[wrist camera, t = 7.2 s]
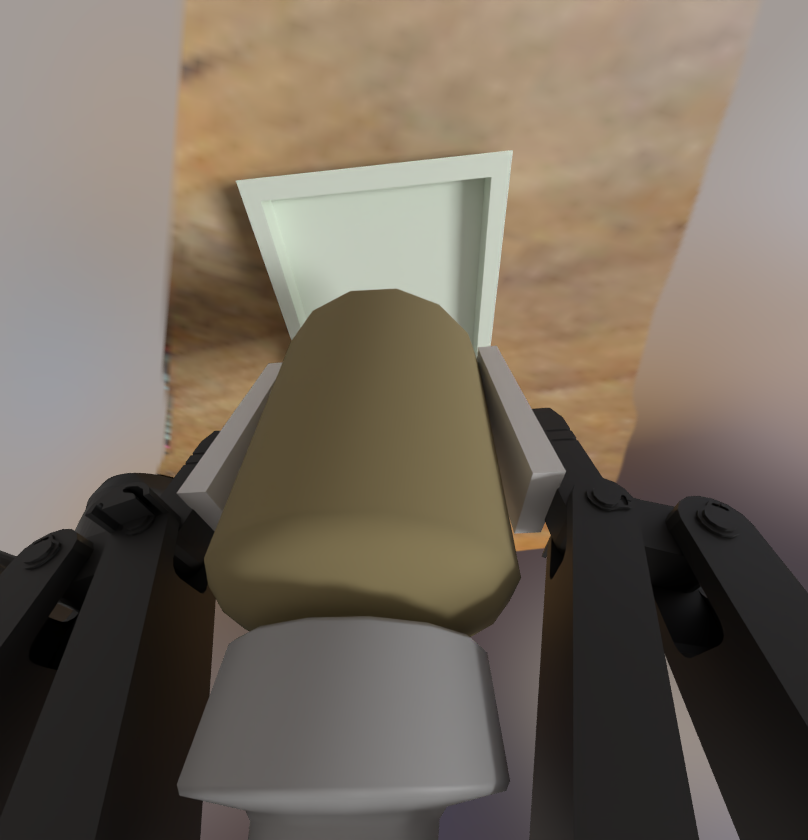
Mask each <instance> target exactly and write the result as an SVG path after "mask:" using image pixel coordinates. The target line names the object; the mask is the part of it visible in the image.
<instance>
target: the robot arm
mask: <svg viewBox="0 0 808 840" xmlns="http://www.w3.org/2000/svg"><path fill="white" fill-rule="evenodd" d="M477 361H478V364H479V368H480V372H481V377H482V382H483V387H484V392H485V397H486V402H487V407H488V413H489V418H490V423H491V428H492V433H493V438H494V443H495V448H496V453H497V458H498V463H499V469H500V474H501V479H502V484H503V489H504V494H505V499H506V504H507V509H508V514H509V517H510V521H511V524H512V527H513V530H514V533H533V532H541V530H542V528H543V526H544V523H545V522H546V525H547V527H548V529H549V532H550V534H551V536H550V538H549V540H548V542H547V545H546V547H545V549H544V551H543V554H542V557H544V558H546V557H547V564H546V580H545V596H544V613H543V628H542V644H541V661H540V677H539V694H538V708H537V725H536V741H535V757H534V773H533V789H532V805H531V821H530V839H529V840H699V837H698V831H697V826H696V820H695V815H694V810H693V805H692V799H691V793H690V788H689V783H688V778H687V772H686V767H685V762H684V756H683V751H682V745H681V740H680V735H679V729H678V724H677V718H676V713H675V708H674V702H673V697H672V692H671V686H670V681H669V676H668V670H667V665H666V659H665V656H666V658H667V660H668V663H669V665H670V668H671V670H672V673H673V675H674V678H675V680H676V683H677V685H678V688H679V690H680V693H681V695H682V698H683V700H684V703H685V705H686V708H687V710H688V712H689V715H690V717H691V720H692V722H693V725H694V727H695V730H696V732H697V735H698V737H699V740H700V742H701V745H702V747H703V750H704V752H705V754H706V757H707V759H708V762H709V764H710V767H711V769H712V772H713V774H714V776H715V779H716V782H717V784H718V786H719V789H720V792H721V794H722V796H723V799H724V801H725V804H726V806H727V809H728V811H729V814H730V816H731V819H732V821H733V824H734V826H735V828H736V831H737V833H738V836H739V838H740V840H808V593H807V591H806V590H805V589H804V588H803V586H802V585H801V584H800V583H799V581H798V580H797V579H796V578H795V576H794V575H793V574H792V573H791V571H790V570H789V569H788V568H787V566H786V565H785V564H784V563H783V561H782V560H781V559H780V558H779V557H778V555H777V554H776V553H775V552H774V550H773V549H772V548H771V546H770V545H769V544H768V543H767V541H766V540H765V539H764V538H763V536H762V535H761V534H760V533H759V531H758V530H757V529H756V528H755V526H754V525H753V524H752V523H751V522H750V521H749V520H748V519H747V518H746V517H745V516H743V514H741V513H739V512H738V511H736V510H735V509H733V508H732V507H730V506H729V505H727V504H724V503H722V502H719V501H717V500H714V499H711V498H706V497H701V496H691V497H686V498H684V499H683V500H681V501H679V503H678V504H677V505H676V506H675V507H673V506H668V505H663V504H658V503H653V502H648V501H643V500H640V499H636V498H633V497H632V496H631V495H630V494H629V493H628V492H627V491H626V490H625V489H624V488H622V487H621V486H619V485H618V484H616V483H615V482H612V481H610V480H607V479H604V478H603V477H602V476H601V475H600V473H599V472H598V470H597V469H596V467H595V466H594V464H593V462H592V461H591V459H590V458H589V456H588V455H587V453H586V452H585V450H584V449H583V447H582V446H581V444H580V443H579V441H578V440H576V437H575V435H574V434H573V432H572V431H570V428H569V426H568V425H567V423H566V422H565V420H564V419H563V417H562V416H560V415H559V414H558V413H556V412H555V411H553V410H552V409H551V408H539V409H531V407H530V405H529V403H528V402H527V400H526V398H525V396H524V394H523V393H522V391H521V389H520V387H519V385H518V383H517V382H516V380H515V378H514V376H513V374H512V373H511V371H510V369H509V367H508V365H507V364H506V362H505V360H504V358H503V356H502V355H501V353H500V351H499V349H498V347H497V346H487V347H478V351H477ZM282 363H283V362H281V363H269V364H268V365H267V366H266V368H265V369H264V371H263V372H262V373H261V375H260V376H259V378H258V379H257V380H256V382H255V383H254V385H253V386H252V388H251V389H250V390H249V392H248V393H247V395H246V396H245V397H244V399H243V400H242V402H241V403H240V404H239V406H238V407H237V409H236V410H235V411H234V413H233V414H232V416H231V417H230V419H229V420H228V421H227V423H226V424H225V426H224V427H223V428H222V430H221V431H214V432H213V433H212V434H210V435H209V436H208V437H207V438H205V439H204V440H203V441H202V442H201V443H200V444H199V445H198V447H197V448H196V449H195V451H194V452H193V455H191V456H190V457H189V459H188V460H187V461H186V465H183V467H182V468H181V469H180V471H179V472H178V473H177V475H176V476H175V477H174V479H173V478H169V477H165V476H160V475H154V474H146V473H127V474H120V475H116V476H113V477H111V478H109V479H107V480H106V481H105V482H104V483H103V484H102V485H101V486H100V487H99V488H98V489H97V490H96V491H95V493H93V494H92V496H91V497H90V498H89V500H88V502H87V506H86V510H85V512H84V514H83V516H82V517H81V519H80V521H79V523H78V525H77V527H76V530H75V531H74V530H72V529H62V530H59V531H56V532H53V533H50V534H48V535H46V536H44V537H42V538H40V539H38V540H36V541H35V542H33V543H32V544H31V545H29V546H28V547H27V548H25V549H24V550H23V551H22V552H21V553H20V554H19V555H18V556H14V555H11V554H8V553H6V552H3V551H0V840H200V834H201V818H202V803H203V801H202V800H197V799H193V798H188V797H184V796H180V795H179V792H178V787H177V783H178V780H179V777H180V775H181V772H182V769H183V767H184V764H185V761H186V758H187V756H188V753H189V750H190V748H191V745H192V742H193V740H194V737H195V734H196V731H197V729H198V726H199V723H200V721H201V718H202V715H203V712H204V710H205V707H206V704H207V702H208V699H209V694H210V678H211V662H212V647H213V632H214V616H215V600H216V598H215V597H214V595H213V593H212V591H211V589H210V588H209V586H208V581H207V575H206V569H205V563H204V557H205V554H206V552H207V549H208V547H209V544H210V542H211V539H212V537H213V534H214V532H215V529H216V527H217V524H218V522H219V519H220V517H221V514H222V512H223V510H224V507H225V505H226V502H227V500H228V497H229V495H230V492H231V490H232V487H233V485H234V482H235V480H236V477H237V475H238V472H239V470H240V467H241V465H242V462H243V460H244V457H245V455H246V452H247V450H248V447H249V445H250V442H251V440H252V437H253V435H254V432H255V430H256V427H257V425H258V422H259V420H260V417H261V415H262V412H263V410H264V407H265V405H266V402H267V400H268V397H269V395H270V392H271V390H272V387H273V385H274V382H275V380H276V378H277V375H278V373H279V370H280V368H281V365H282ZM664 653H665V654H664Z"/></svg>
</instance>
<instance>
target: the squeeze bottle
mask: <svg viewBox="0 0 808 840" xmlns="http://www.w3.org/2000/svg"><path fill="white" fill-rule="evenodd" d="M204 563H205V569H206V575H207V581H208V586H209V588H210V589H211V591H212V593H213V595H214V597H215V598H216V600H217V602H218V604H219V605H220V607H221V609H222V611H223V612H224V613H225V614H227V615H228V616H229V617H231V618H232V619H233V620H234V621H236V622H237V623H238V624H239V625H241V626H242V627H243V628H244V629H246V630H248V631H250V632H248V633H246V634H244V635H243V636H241V637H239V638H237V639H236V640H234V641H233V642H231V643H230V644H229V645H228V648H227V650H226V653H225V656H224V658H223V661H222V664H221V667H220V669H219V672H218V675H217V678H216V680H215V683H214V686H213V688H212V691H211V694H210V696H209V699H208V702H207V704H206V707H205V710H204V712H203V715H202V718H201V721H200V723H199V726H198V729H197V731H196V734H195V737H194V740H193V742H192V745H191V748H190V750H189V753H188V756H187V758H186V761H185V764H184V767H183V769H182V772H181V775H180V777H179V780H178V783H177V787H178V792H179V795H180V796H184V797H188V798H193V799H197V800H202V801H206V802H211V803H215V804H219V805H224V806H228V807H232V808H237V809H242V810H246V813H247V815H248V817H249V820H250V828H249V837H248V840H438V833H439V819H440V817H441V816H442V814H443V812H444V810H445V809H446V807H447V806H450V805H454V804H458V803H462V802H465V801H469V800H473V799H476V798H480V797H484V796H488V795H492V794H495V793H499V792H503V791H506V790H507V787H508V784H509V782H510V779H509V773H508V768H507V762H506V756H505V750H504V745H503V739H502V733H501V728H500V723H499V717H498V711H497V706H496V700H495V694H494V689H493V683H492V677H491V672H490V666H489V660H488V655H487V652H485V650H484V649H482V648H481V647H480V646H479V645H478V644H477V643H476V642H475V641H473V640H472V639H471V638H470V637H471V636H473V635H475V634H476V633H478V632H480V631H482V630H483V629H485V628H487V627H488V626H490V625H492V624H493V623H494V622H495V621H496V619H497V618H498V616H499V615H500V614H501V612H502V611H503V609H504V608H505V607H506V605H507V604H508V602H509V601H510V599H511V597H512V595H513V593H514V591H515V589H516V587H517V585H518V583H519V581H520V578H521V576H520V570H519V565H518V560H517V556H516V550H515V545H514V540H513V535H512V530H511V525H510V520H509V514H508V509H507V504H506V499H505V494H504V489H503V484H502V479H501V474H500V469H499V463H498V458H497V453H496V448H495V443H494V438H493V433H492V428H491V423H490V418H489V413H488V407H487V402H486V397H485V392H484V387H483V382H482V377H481V372H480V368H479V364H478V361H477V358H476V355H475V352H474V349H473V346H472V344H471V341H470V338H469V335H468V333H467V332H466V331H465V330H464V329H463V328H462V327H461V326H460V325H459V324H458V323H457V322H456V321H455V320H454V319H453V318H452V317H451V316H450V315H449V314H448V313H447V312H446V311H445V310H444V309H443V308H442V307H441V306H440V305H439V304H436V303H434V302H431V301H428V300H426V299H423V298H420V297H418V296H415V295H413V294H410V293H407V292H405V291H402V290H399V289H378V290H358V291H349V292H347V293H346V294H344V295H342V296H340V297H338V298H336V299H334V300H332V301H330V302H328V303H327V304H325V305H323V306H321V307H319V308H317V309H315V310H313V311H312V312H311V314H310V315H309V317H308V318H307V319H306V321H305V322H304V324H303V325H302V327H301V328H300V329H299V331H298V332H297V334H296V335H295V337H294V338H293V339H292V341H291V343H290V345H289V348H288V350H287V353H286V355H285V358H284V360H283V363H282V365H281V368H280V370H279V373H278V375H277V378H276V380H275V382H274V385H273V387H272V390H271V392H270V395H269V397H268V400H267V402H266V405H265V407H264V410H263V412H262V415H261V417H260V420H259V422H258V425H257V427H256V430H255V432H254V435H253V437H252V440H251V442H250V445H249V447H248V450H247V452H246V455H245V457H244V460H243V462H242V465H241V467H240V470H239V472H238V475H237V477H236V480H235V482H234V485H233V487H232V490H231V492H230V495H229V497H228V500H227V502H226V505H225V507H224V510H223V512H222V514H221V517H220V519H219V522H218V524H217V527H216V529H215V532H214V534H213V537H212V539H211V542H210V544H209V547H208V549H207V552H206V554H205V557H204Z"/></svg>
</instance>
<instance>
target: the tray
mask: <svg viewBox="0 0 808 840" xmlns="http://www.w3.org/2000/svg"><path fill="white" fill-rule="evenodd" d="M512 153H513V150H510V151H501V152H492V153H483V154H474V155H465V156H456V157H447V158H437V159H428V160H419V161H410V162H401V163H392V164H383V165H374V166H365V167H355V168H346V169H337V170H328V171H319V172H310V173H301V174H292V175H282V176H273V177H264V178H255V179H246V180H237V181H236V183H237V186H238V188H239V191H240V194H241V197H242V200H243V203H244V206H245V208H246V211H247V214H248V217H249V220H250V223H251V226H252V229H253V231H254V234H255V237H256V240H257V243H258V246H259V249H260V252H261V254H262V257H263V260H264V263H265V266H266V269H267V272H268V274H269V277H270V280H271V283H272V286H273V289H274V292H275V295H276V297H277V300H278V303H279V306H280V309H281V312H282V315H283V318H284V320H285V323H286V326H287V329H288V332H289V335H290V338H291V340H292V339H293V338H294V337H295V335H296V334H297V332H298V331H299V329H300V328H301V327H302V325H303V324H304V322H305V321H306V319H307V318H308V317H309V315H310V314H311V312H312V311H313V310H315V309H317V308H319V307H321V306H323V305H325V304H327V303H328V302H330V301H332V300H334V299H336V298H338V297H340V296H342V295H344V294H346V293H347V292H349V291H358V290H378V289H399V290H402V291H405V292H407V293H410V294H413V295H415V296H418V297H420V298H423V299H426V300H428V301H431V302H434V303H436V304H439V305H440V306H441V307H442V308H443V309H444V310H445V311H446V312H447V313H448V314H449V315H450V316H451V317H452V318H453V319H454V320H455V321H456V322H457V323H458V324H459V325H460V326H461V327H462V328H463V329H464V330H465V331H466V332H467V333H468V335H469V338H470V341H471V344H472V346H473V349H474V352H475V355H476V358H477V351H478V347H487V346H491V337H492V328H493V320H494V311H495V302H496V293H497V285H498V276H499V267H500V258H501V249H502V241H503V232H504V223H505V214H506V206H507V197H508V188H509V179H510V171H511V162H512Z"/></svg>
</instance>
